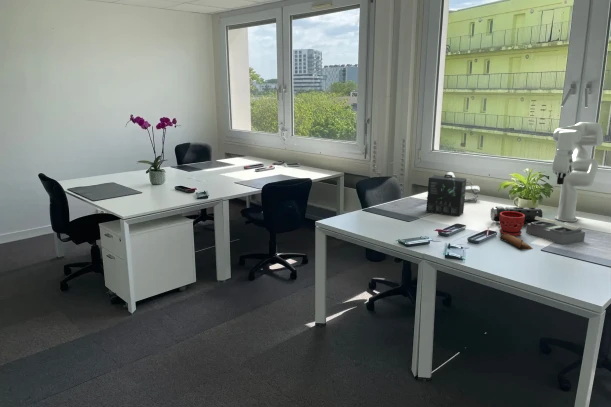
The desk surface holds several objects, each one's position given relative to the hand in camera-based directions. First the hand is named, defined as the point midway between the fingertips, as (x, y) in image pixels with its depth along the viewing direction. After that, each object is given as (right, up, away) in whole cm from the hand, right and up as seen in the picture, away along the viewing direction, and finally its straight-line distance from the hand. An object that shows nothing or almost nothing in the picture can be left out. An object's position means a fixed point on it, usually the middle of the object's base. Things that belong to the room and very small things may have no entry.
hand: (560, 184), depth 264 cm
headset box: (-55, -18, +41) cm, 71 cm away
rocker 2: (-7, -24, -18) cm, 31 cm away
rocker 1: (-12, -21, -6) cm, 25 cm away
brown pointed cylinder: (-36, -34, -23) cm, 54 cm away
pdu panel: (-10, -30, -9) cm, 32 cm away
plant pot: (-32, -29, -5) cm, 43 cm away
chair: (-31, -8, +79) cm, 86 cm away
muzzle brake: (-19, -24, +16) cm, 35 cm away
